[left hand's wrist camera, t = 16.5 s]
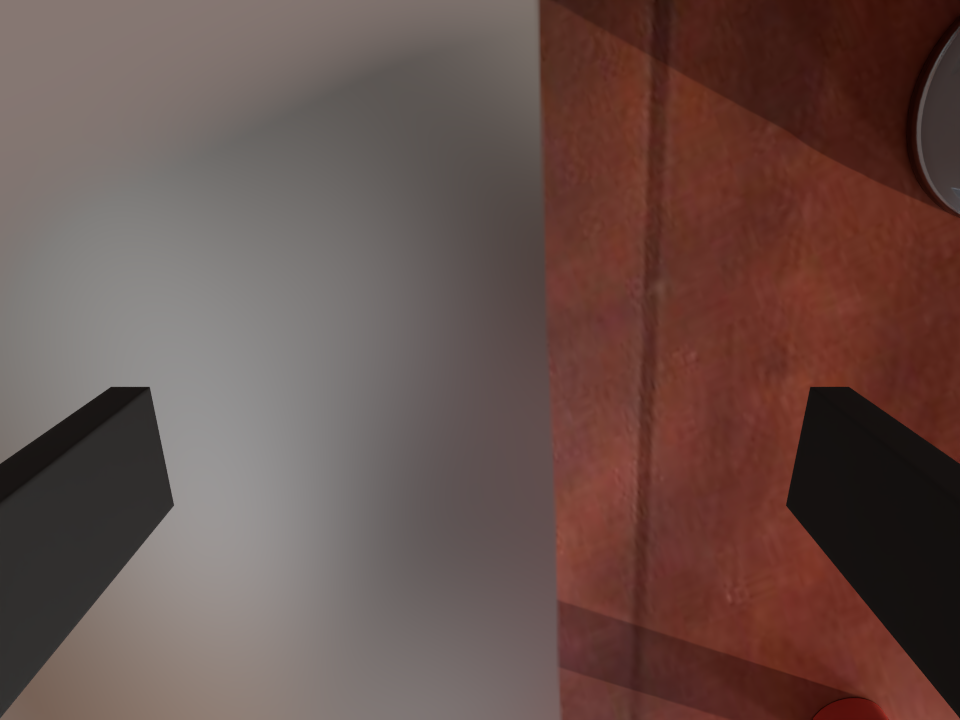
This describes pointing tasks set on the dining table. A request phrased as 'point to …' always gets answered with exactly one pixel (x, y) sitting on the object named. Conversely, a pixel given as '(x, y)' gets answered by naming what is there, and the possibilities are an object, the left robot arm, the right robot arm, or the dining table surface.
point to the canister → (851, 710)
